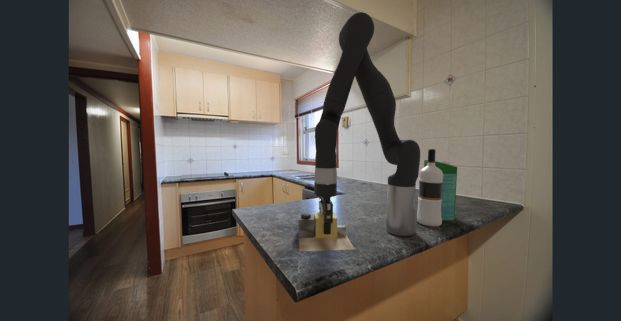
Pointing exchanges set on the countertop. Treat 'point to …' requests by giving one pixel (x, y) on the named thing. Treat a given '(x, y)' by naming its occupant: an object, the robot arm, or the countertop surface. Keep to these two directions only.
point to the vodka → (430, 193)
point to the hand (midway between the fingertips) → (325, 228)
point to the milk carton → (447, 188)
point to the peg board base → (320, 244)
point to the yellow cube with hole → (320, 226)
